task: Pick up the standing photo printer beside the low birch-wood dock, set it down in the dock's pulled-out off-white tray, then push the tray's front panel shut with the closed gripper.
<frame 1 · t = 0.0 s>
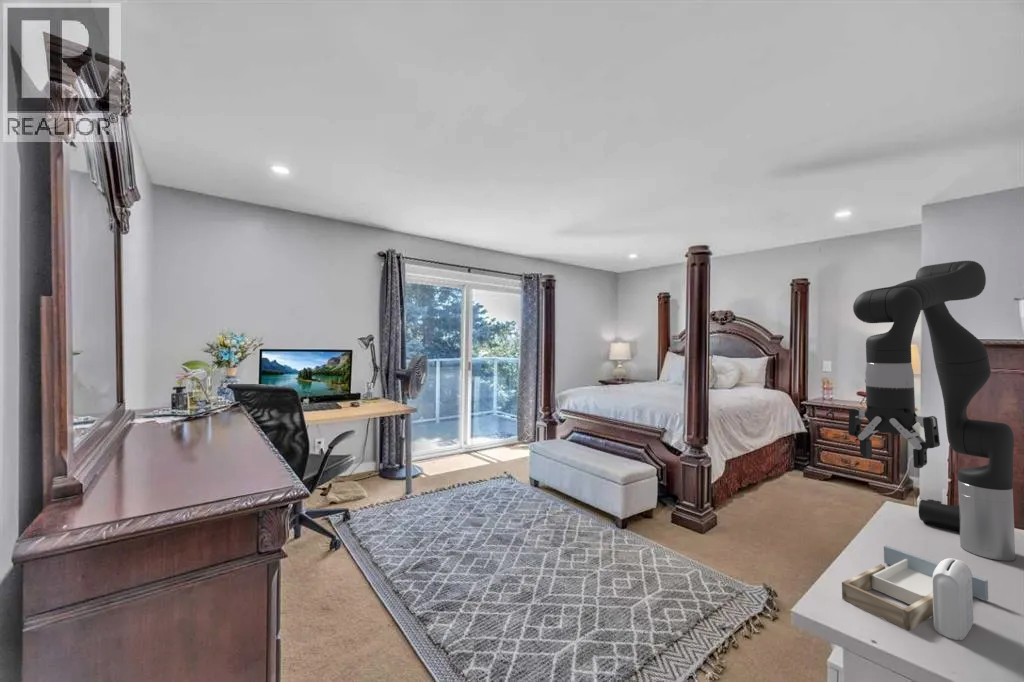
hand: (891, 462, 87), 29 cm above the table, fingers open, 8 cm apart
tray: (915, 579, 91), point 2 cm above the table, slide at 8.0 cm
dock housing: (895, 601, 87), on the table
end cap: (946, 528, 120), on the table
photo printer: (954, 628, 79), on the table
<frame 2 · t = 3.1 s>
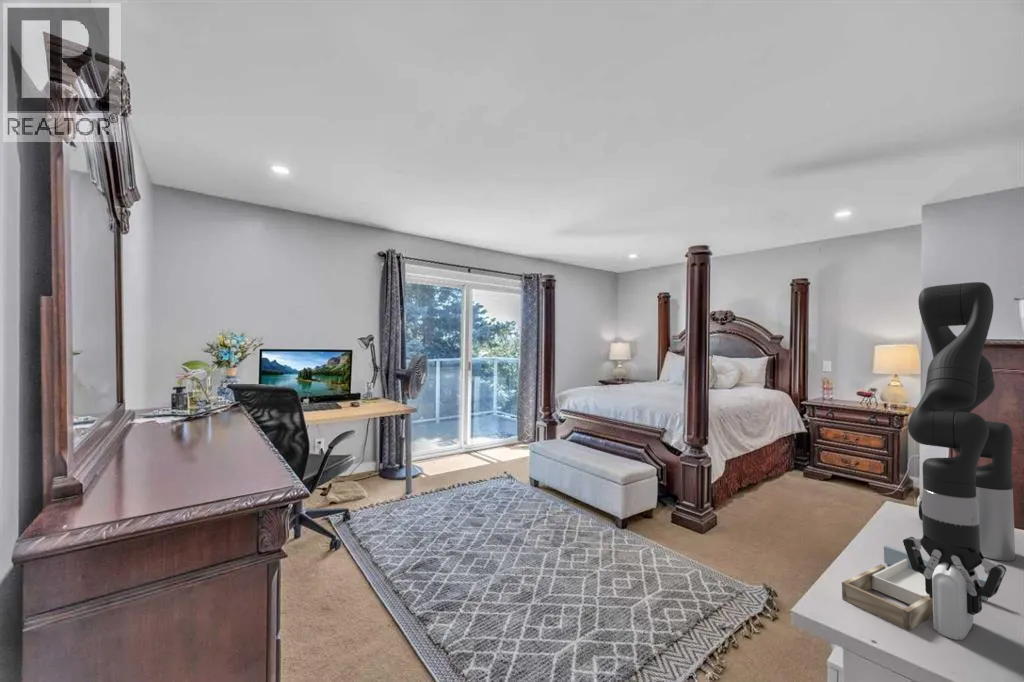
hand: (952, 604, 79), 4 cm above the table, fingers closed on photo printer, 4 cm apart
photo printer: (953, 628, 79), on the table, touching gripper
everything else where it was.
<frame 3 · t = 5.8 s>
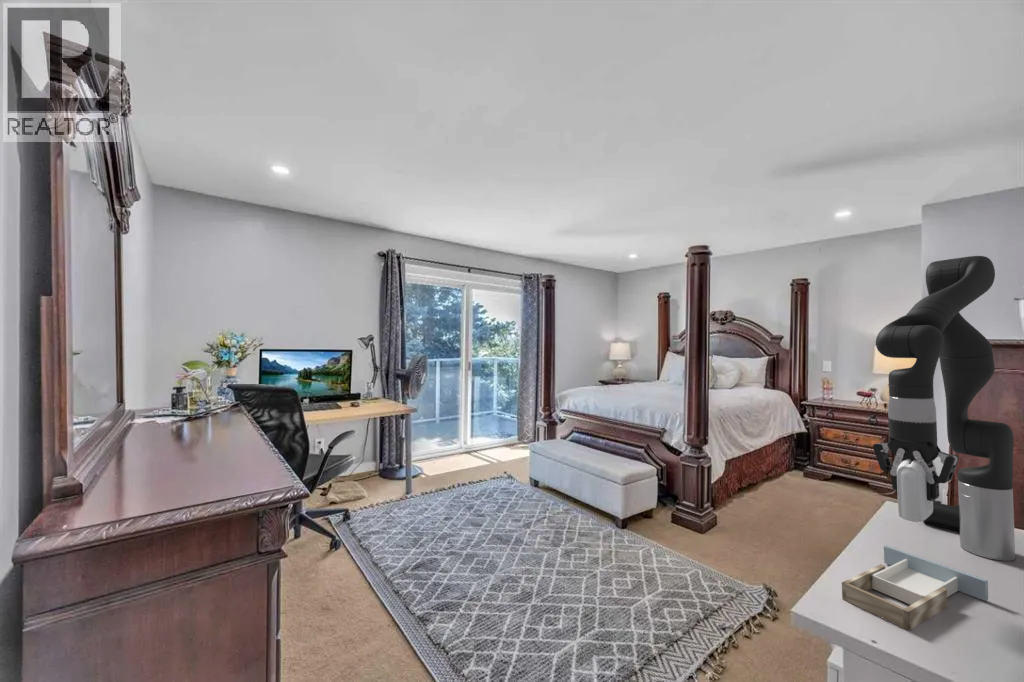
hand: (915, 495, 90), 21 cm above the table, fingers closed on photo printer, 4 cm apart
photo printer: (916, 516, 90), point 16 cm above the table, touching gripper
everything else where it was.
when the fingers open (7 cm above the table, at t = 9.0 s): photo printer drops 1 cm, resting on tray.
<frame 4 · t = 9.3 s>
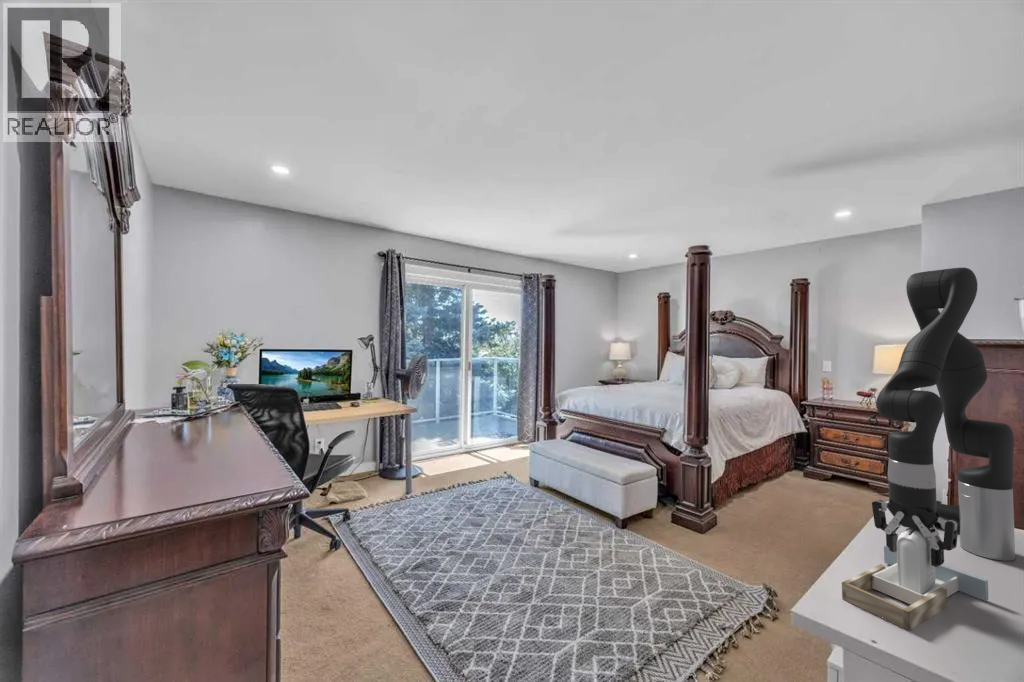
hand: (914, 557, 91), 7 cm above the table, fingers open, 6 cm apart
tray: (915, 579, 91), point 2 cm above the table, slide at 8.1 cm, touching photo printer
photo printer: (917, 586, 90), point 1 cm above the table, touching tray
everything else where it was.
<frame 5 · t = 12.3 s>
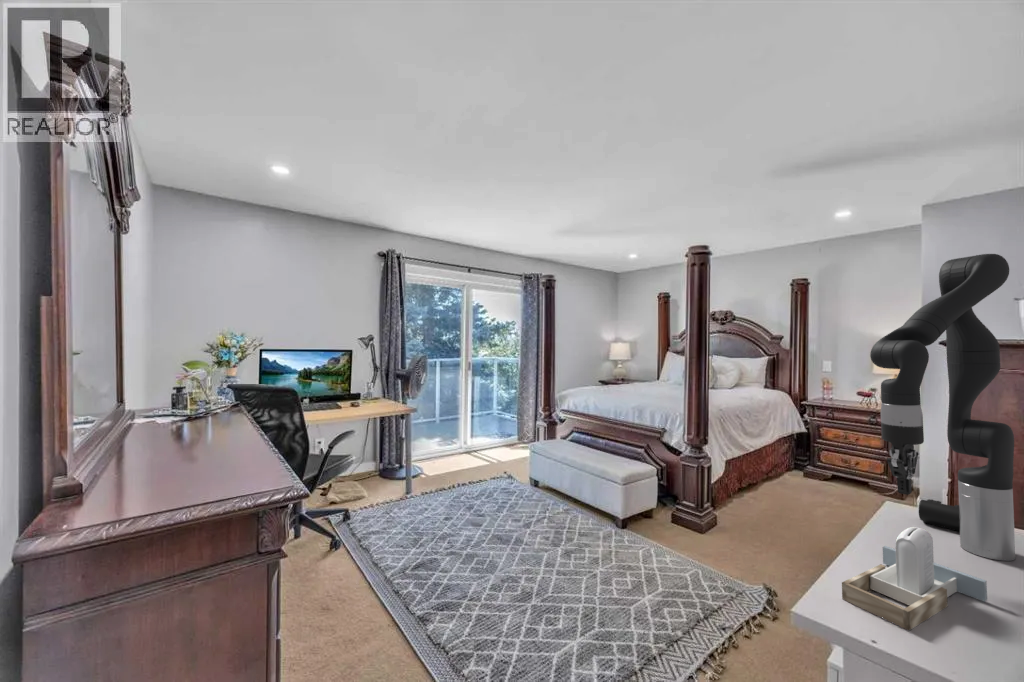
hand: (904, 493, 102), 17 cm above the table, fingers closed
tray: (914, 579, 91), point 2 cm above the table, slide at 7.4 cm, touching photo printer
everything else where it was.
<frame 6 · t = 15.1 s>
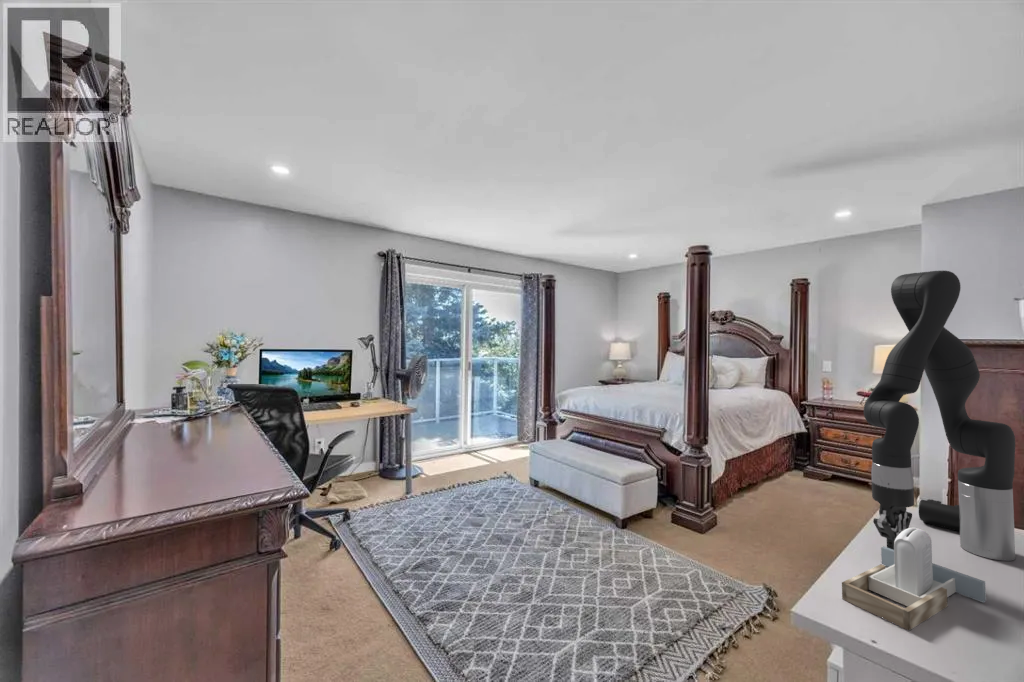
hand: (894, 554, 101), 3 cm above the table, fingers closed
tray: (912, 580, 90), point 2 cm above the table, slide at 6.8 cm, touching gripper, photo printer
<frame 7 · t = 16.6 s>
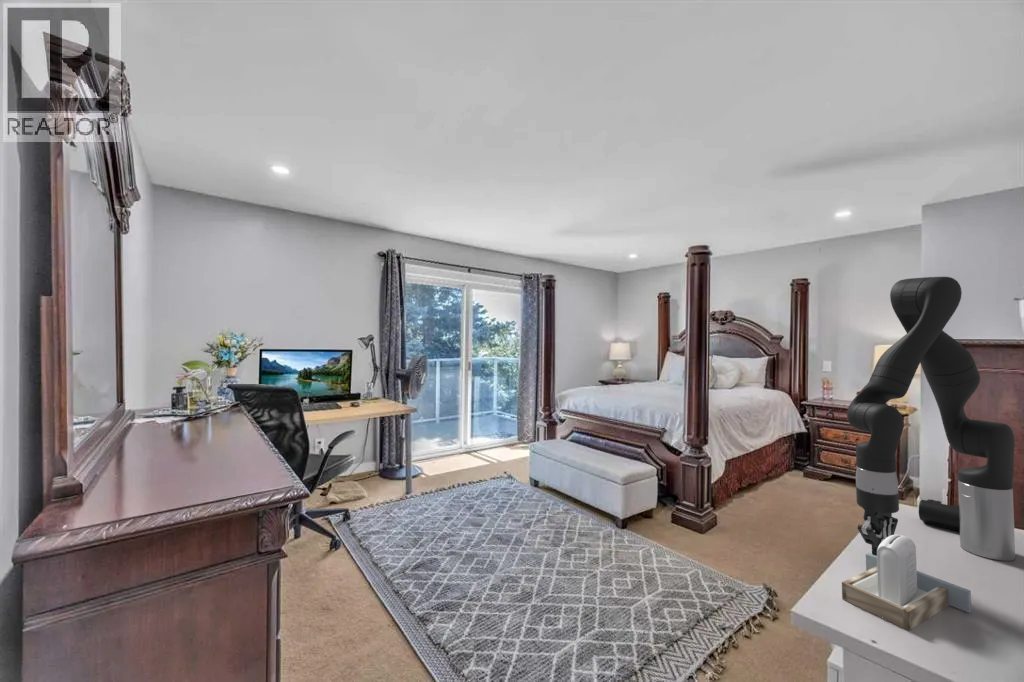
hand: (879, 561, 98), 3 cm above the table, fingers closed
tray: (896, 589, 87), point 2 cm above the table, slide at -0.1 cm, touching gripper, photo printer
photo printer: (898, 597, 87), point 1 cm above the table, touching tray
everything else where it was.
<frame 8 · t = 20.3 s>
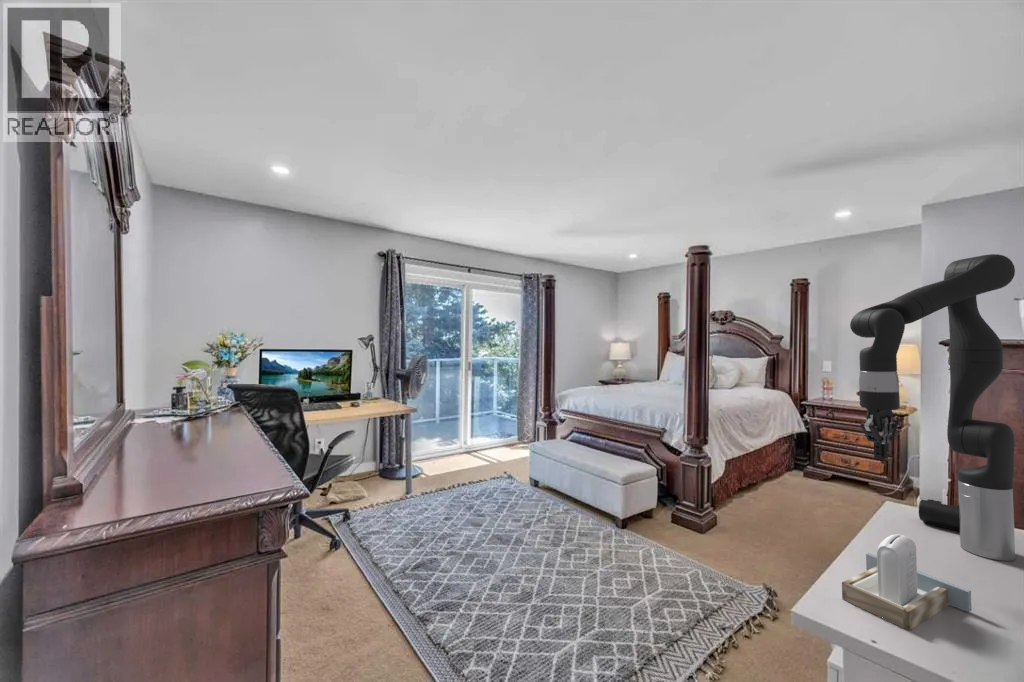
hand: (881, 458, 104), 25 cm above the table, fingers closed
tray: (896, 589, 87), point 2 cm above the table, slide at 0.1 cm, touching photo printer
everything else where it was.
at the end: tray slide at 0.1 cm; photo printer inside the target area on the dock housing (0.4 cm from its centre), point 1.0 cm above the dock housing's base; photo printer tilted 0° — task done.
